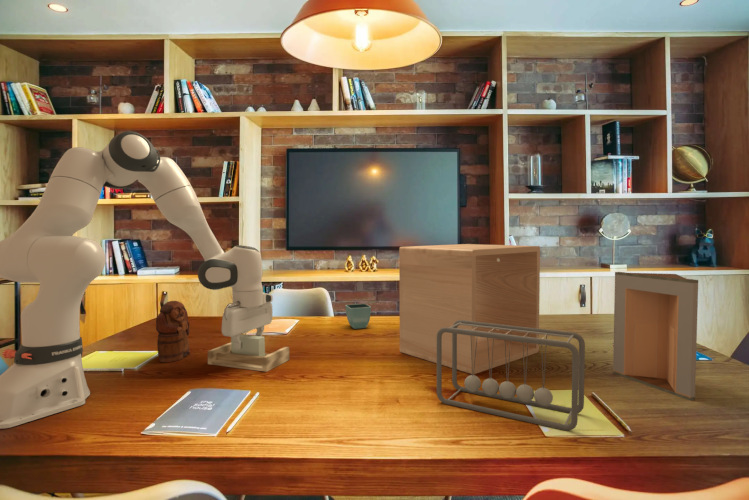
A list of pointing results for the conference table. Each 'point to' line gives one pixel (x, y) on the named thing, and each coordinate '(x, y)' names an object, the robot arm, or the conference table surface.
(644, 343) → the cabinet
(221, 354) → the track frame
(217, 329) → the conference table surface
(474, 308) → the storage cube
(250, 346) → the cream rectangular block
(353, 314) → the flower pot
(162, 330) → the wooden figurine
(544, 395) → the newton's cradle
